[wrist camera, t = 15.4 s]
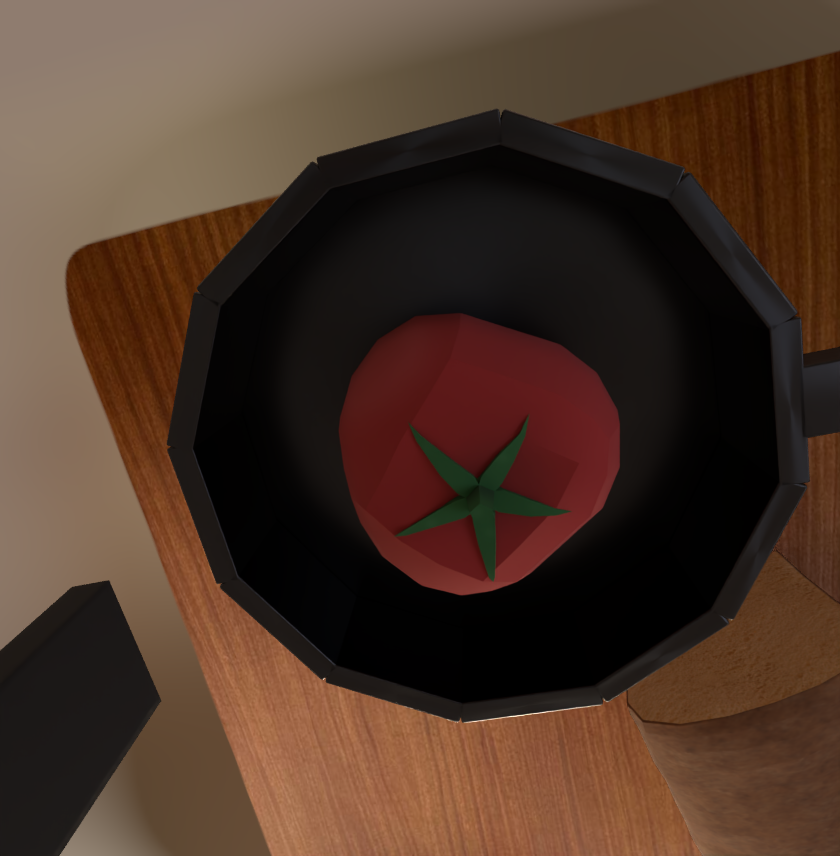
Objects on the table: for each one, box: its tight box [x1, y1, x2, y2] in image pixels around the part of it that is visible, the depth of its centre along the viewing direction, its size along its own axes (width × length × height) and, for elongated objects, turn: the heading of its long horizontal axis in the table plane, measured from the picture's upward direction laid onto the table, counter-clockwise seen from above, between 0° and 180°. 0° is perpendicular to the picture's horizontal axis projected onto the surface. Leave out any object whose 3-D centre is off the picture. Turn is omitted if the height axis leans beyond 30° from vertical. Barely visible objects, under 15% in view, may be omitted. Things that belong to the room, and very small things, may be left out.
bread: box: [627, 551, 840, 856], centre depth 49 cm, size 18×30×16 cm, turn 28°
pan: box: [167, 109, 840, 723], centre depth 32 cm, size 18×29×33 cm, turn 103°
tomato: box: [339, 313, 620, 595], centre depth 17 cm, size 8×8×7 cm
